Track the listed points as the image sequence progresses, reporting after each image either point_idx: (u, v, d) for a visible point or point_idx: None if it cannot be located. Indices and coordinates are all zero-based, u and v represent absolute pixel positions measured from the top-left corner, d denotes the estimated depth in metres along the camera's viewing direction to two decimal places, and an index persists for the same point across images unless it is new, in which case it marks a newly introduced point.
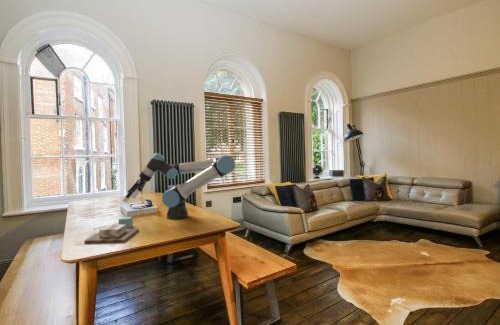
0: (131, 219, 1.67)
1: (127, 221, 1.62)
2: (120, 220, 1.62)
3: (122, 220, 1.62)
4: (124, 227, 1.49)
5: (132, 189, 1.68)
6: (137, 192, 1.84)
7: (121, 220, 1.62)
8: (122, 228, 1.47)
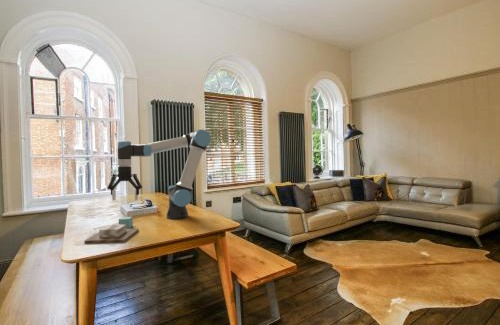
0: (131, 219, 1.67)
1: (127, 221, 1.62)
2: (120, 220, 1.62)
3: (122, 220, 1.62)
4: (124, 227, 1.49)
5: (139, 184, 1.65)
6: (114, 192, 1.65)
7: (121, 220, 1.62)
8: (122, 228, 1.47)
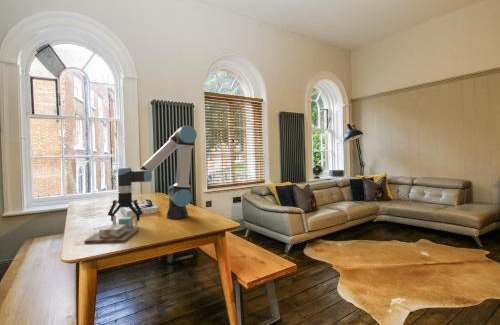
0: (131, 219, 1.67)
1: (127, 221, 1.62)
2: (120, 220, 1.62)
3: (122, 220, 1.62)
4: (124, 227, 1.49)
5: (140, 210, 1.66)
6: (115, 218, 1.65)
7: (121, 220, 1.62)
8: (122, 228, 1.47)
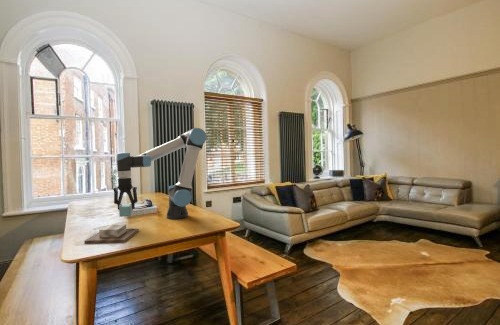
0: None
1: (127, 208, 1.62)
2: (120, 208, 1.62)
3: (122, 207, 1.62)
4: (124, 227, 1.49)
5: (136, 198, 1.65)
6: None
7: (121, 208, 1.62)
8: (122, 228, 1.47)
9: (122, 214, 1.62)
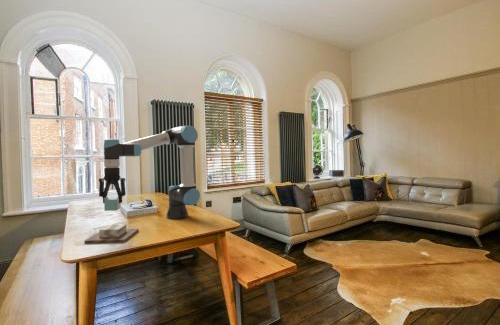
0: None
1: (114, 202, 1.44)
2: (106, 201, 1.44)
3: (108, 201, 1.44)
4: (124, 227, 1.49)
5: (124, 190, 1.47)
6: None
7: (107, 201, 1.44)
8: (122, 228, 1.47)
9: (107, 208, 1.44)
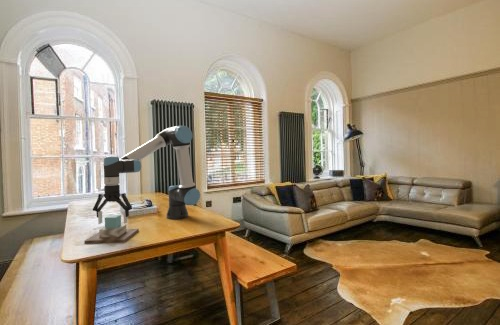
0: (119, 217, 1.48)
1: (114, 220, 1.43)
2: (106, 219, 1.43)
3: (108, 219, 1.43)
4: (124, 227, 1.49)
5: (129, 204, 1.47)
6: (101, 213, 1.46)
7: (107, 219, 1.43)
8: (122, 228, 1.47)
9: (108, 226, 1.43)
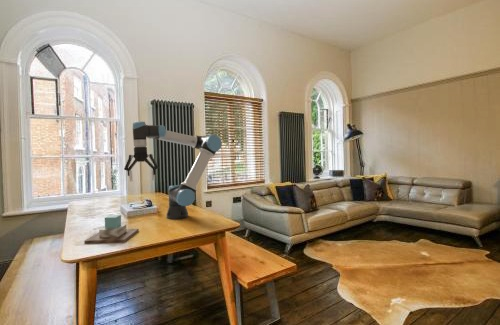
0: (119, 217, 1.48)
1: (114, 220, 1.43)
2: (106, 219, 1.43)
3: (108, 219, 1.43)
4: (124, 227, 1.49)
5: (156, 164, 1.66)
6: (131, 172, 1.66)
7: (107, 219, 1.43)
8: (122, 228, 1.47)
9: (108, 226, 1.43)
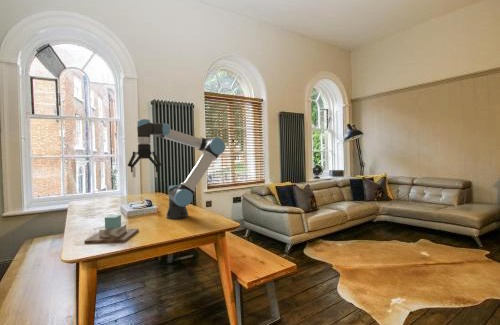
0: (119, 217, 1.48)
1: (114, 220, 1.43)
2: (106, 219, 1.43)
3: (108, 219, 1.43)
4: (124, 227, 1.49)
5: (159, 161, 1.69)
6: (134, 169, 1.69)
7: (107, 219, 1.43)
8: (122, 228, 1.47)
9: (108, 226, 1.43)
